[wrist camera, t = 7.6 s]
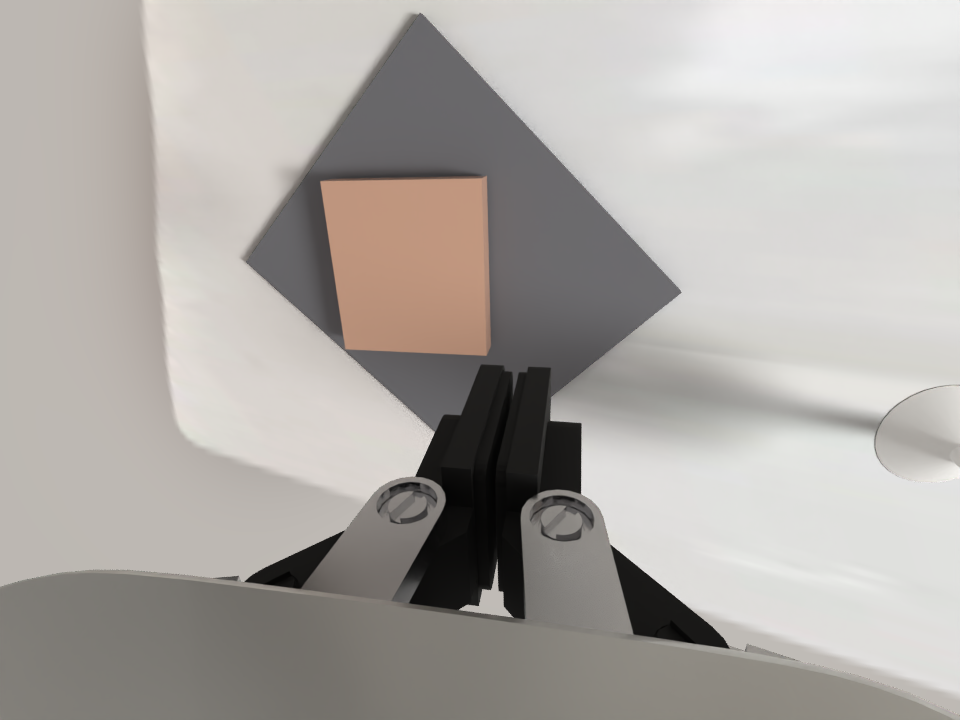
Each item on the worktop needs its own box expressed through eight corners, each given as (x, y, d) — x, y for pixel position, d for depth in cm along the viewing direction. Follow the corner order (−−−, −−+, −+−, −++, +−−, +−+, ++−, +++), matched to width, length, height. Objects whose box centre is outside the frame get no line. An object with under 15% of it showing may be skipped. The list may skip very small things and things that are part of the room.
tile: (487, 175, 28) (335, 178, 30) (481, 178, 26) (320, 181, 28) (491, 343, 32) (357, 338, 34) (486, 355, 30) (345, 349, 32)
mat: (250, 260, 33) (245, 261, 33) (423, 14, 26) (420, 12, 25) (470, 457, 37) (469, 462, 36) (679, 290, 29) (681, 292, 29)
